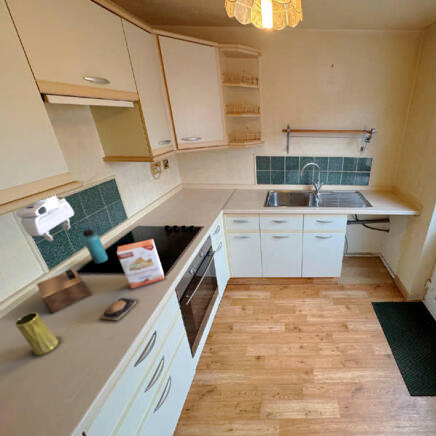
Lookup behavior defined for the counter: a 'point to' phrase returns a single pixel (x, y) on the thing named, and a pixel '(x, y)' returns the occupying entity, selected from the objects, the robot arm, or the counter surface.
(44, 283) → the lid
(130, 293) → the counter surface
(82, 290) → the box
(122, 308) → the brown oval piece
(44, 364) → the counter surface
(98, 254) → the beverage bottle
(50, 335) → the vase
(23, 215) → the robot arm
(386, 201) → the counter surface
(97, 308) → the counter surface
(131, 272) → the cracker box
